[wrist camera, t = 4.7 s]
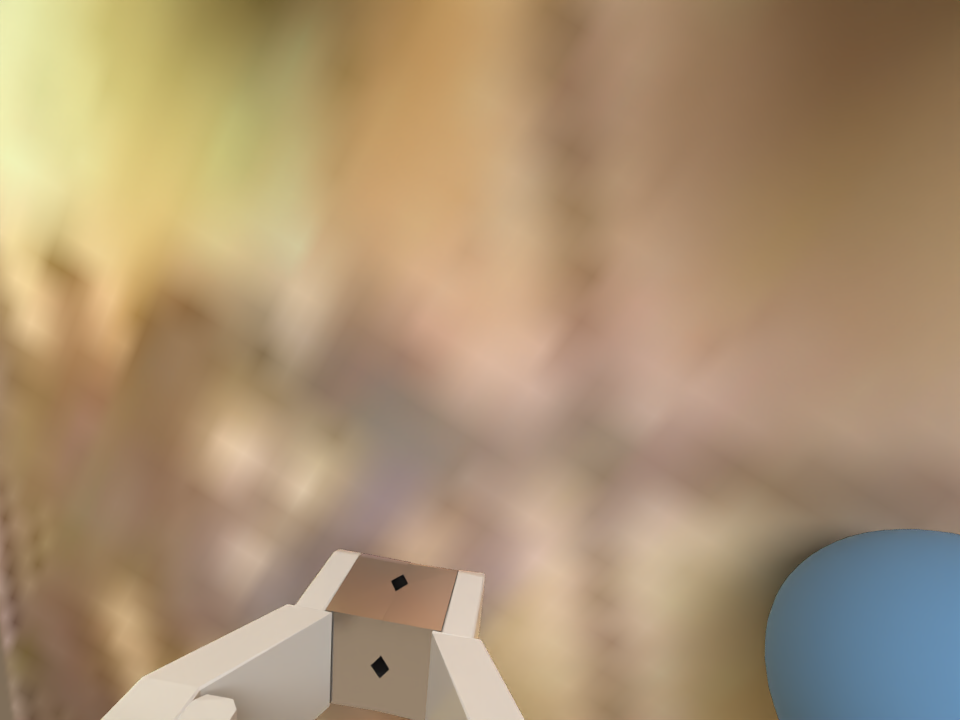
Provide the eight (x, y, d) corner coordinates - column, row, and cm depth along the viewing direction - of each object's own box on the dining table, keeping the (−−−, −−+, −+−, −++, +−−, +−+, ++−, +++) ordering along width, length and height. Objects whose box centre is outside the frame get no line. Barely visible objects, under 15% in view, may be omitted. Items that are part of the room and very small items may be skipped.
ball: (1029, 497, 9) (1672, 804, 4) (946, 713, 11) (1358, 1169, 5) (748, 460, 10) (986, 684, 5) (699, 669, 11) (844, 1038, 6)
